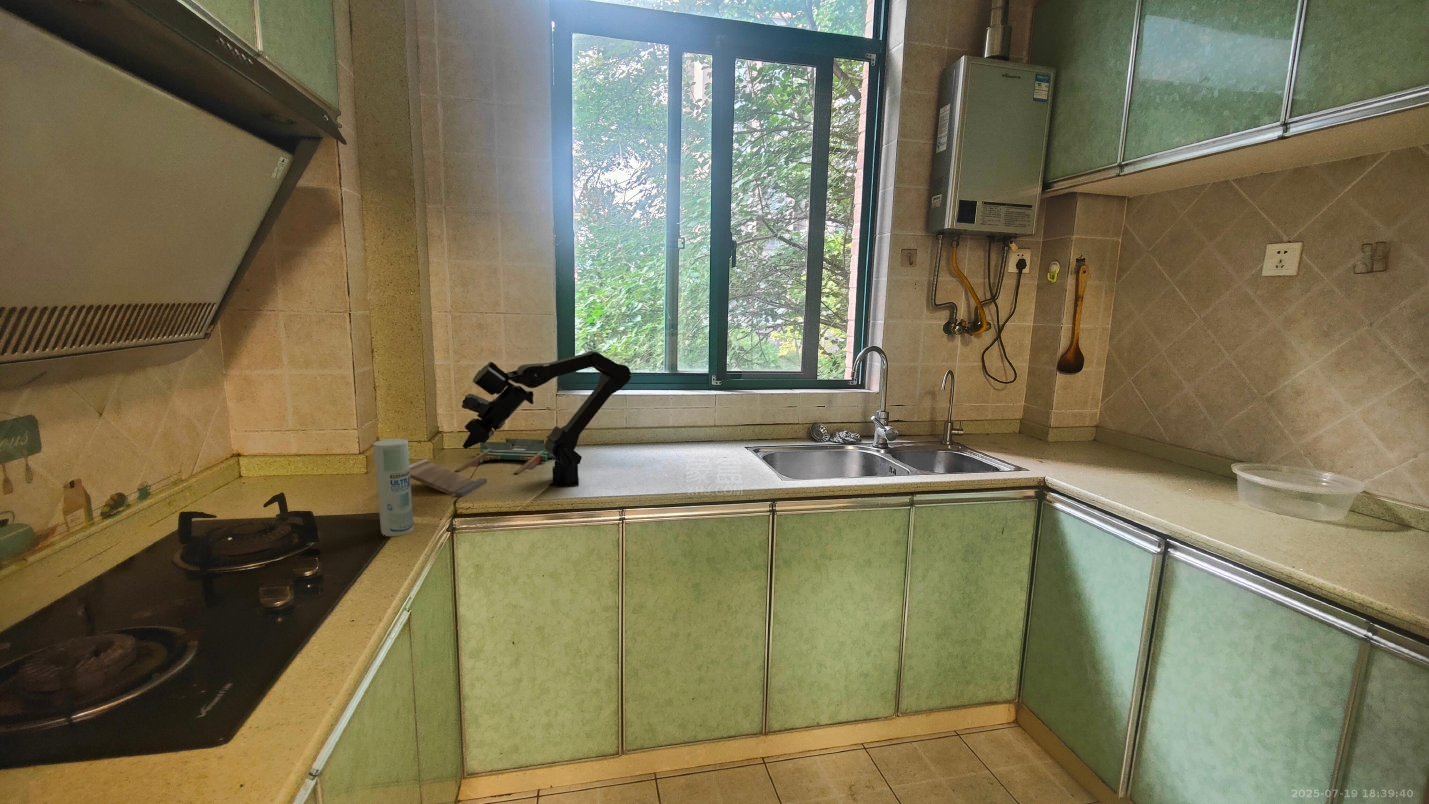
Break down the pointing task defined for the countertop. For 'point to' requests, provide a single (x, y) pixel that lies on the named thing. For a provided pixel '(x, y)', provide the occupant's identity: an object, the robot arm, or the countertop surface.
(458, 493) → the base
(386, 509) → the spray can
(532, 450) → the miniature gate
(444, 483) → the fence panel
